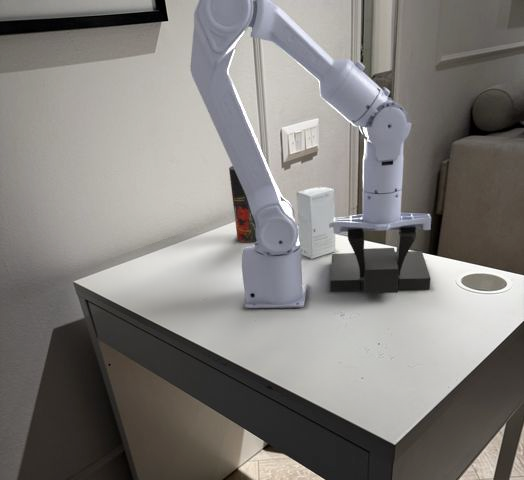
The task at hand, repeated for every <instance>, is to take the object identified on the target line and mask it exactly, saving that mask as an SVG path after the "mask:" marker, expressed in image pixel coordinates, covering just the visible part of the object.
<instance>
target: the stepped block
mask: <svg viewBox="0 0 524 480" xmlns="http://www.w3.org/2000/svg"><path fill="white" fill-rule="evenodd" d="M395 255H396V251H395ZM361 278H364V276H360V269H359V265H358V261H357V258H356V255H355V253H354V252H346V253H332V254H331V262H330V274H329V289H330V290H329V292H361ZM431 279H432V278H431V275H430V271H429V269H428V266H427V262H426V260H425V257H424V254H423V251H422V250H409V251H408V253H407V255H406V257H405V259H404V262H403V265H402V268H401V272H400V275H398V288H397V290H398V291H423V290H430V289H431Z"/></svg>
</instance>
